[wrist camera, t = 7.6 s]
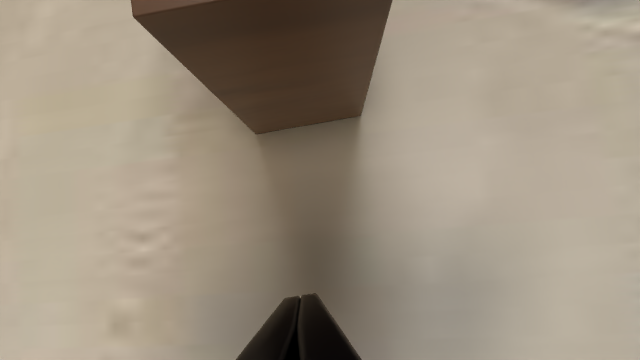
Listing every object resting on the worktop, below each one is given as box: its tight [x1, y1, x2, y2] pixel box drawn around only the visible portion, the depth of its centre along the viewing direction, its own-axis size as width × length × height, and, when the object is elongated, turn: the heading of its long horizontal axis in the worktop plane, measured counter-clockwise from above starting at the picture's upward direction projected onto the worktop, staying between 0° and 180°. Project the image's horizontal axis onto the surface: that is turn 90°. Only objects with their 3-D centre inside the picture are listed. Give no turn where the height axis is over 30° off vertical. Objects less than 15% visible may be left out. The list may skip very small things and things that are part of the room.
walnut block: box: [131, 0, 392, 134], centre depth 15 cm, size 8×7×13 cm
